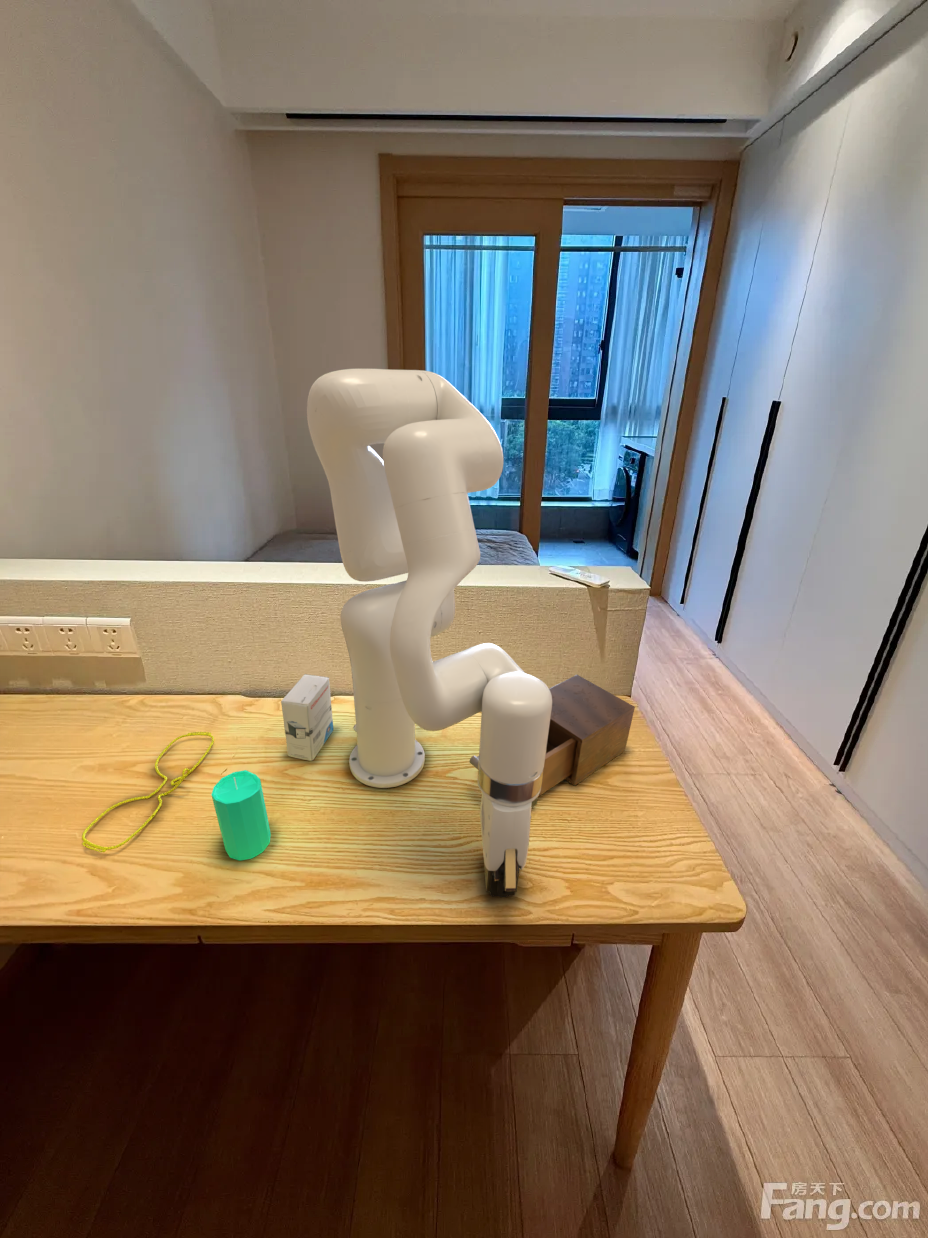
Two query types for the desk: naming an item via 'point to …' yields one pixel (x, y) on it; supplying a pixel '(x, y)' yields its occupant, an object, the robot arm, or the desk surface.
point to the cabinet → (590, 723)
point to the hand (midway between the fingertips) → (500, 876)
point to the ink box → (307, 716)
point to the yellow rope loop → (148, 796)
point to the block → (488, 877)
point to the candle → (242, 815)
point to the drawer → (553, 759)
